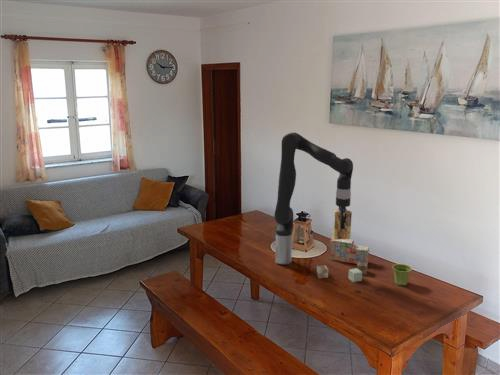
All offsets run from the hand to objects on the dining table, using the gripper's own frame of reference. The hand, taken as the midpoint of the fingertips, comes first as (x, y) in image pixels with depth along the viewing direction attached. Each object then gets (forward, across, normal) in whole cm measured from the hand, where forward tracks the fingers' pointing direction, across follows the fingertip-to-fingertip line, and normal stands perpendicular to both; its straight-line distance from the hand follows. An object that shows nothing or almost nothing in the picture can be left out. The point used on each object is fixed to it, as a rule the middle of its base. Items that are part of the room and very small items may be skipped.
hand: (341, 227), depth 237 cm
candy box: (+7, 0, 0) cm, 7 cm away
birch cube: (+26, +5, -10) cm, 29 cm away
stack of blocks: (+27, -17, +7) cm, 32 cm away
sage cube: (+26, +8, +7) cm, 28 cm away
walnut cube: (+26, -1, +12) cm, 29 cm away
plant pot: (+26, +11, +30) cm, 42 cm away
